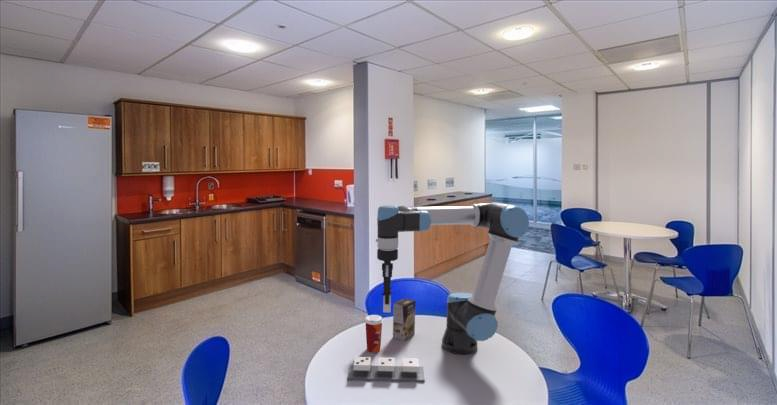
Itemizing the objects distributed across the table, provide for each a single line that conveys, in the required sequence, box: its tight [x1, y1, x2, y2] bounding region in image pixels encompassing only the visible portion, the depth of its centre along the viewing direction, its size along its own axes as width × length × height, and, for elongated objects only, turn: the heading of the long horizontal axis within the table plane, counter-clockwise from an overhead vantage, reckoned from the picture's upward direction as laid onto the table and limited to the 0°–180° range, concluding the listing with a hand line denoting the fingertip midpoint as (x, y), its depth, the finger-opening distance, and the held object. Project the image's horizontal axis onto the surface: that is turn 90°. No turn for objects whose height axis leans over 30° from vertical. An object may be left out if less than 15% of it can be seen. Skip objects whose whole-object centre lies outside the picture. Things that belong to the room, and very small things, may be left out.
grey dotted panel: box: [347, 364, 426, 383], centre depth 144 cm, size 28×9×1 cm, turn 88°
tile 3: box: [352, 356, 372, 371], centre depth 144 cm, size 6×6×2 cm
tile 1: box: [401, 357, 420, 372], centre depth 143 cm, size 6×6×2 cm
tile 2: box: [377, 356, 396, 371], centre depth 144 cm, size 6×6×2 cm
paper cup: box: [364, 314, 384, 354], centre depth 162 cm, size 8×8×14 cm
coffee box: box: [392, 297, 416, 341], centre depth 176 cm, size 9×6×16 cm
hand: (387, 311), depth 142 cm, fingers closed
